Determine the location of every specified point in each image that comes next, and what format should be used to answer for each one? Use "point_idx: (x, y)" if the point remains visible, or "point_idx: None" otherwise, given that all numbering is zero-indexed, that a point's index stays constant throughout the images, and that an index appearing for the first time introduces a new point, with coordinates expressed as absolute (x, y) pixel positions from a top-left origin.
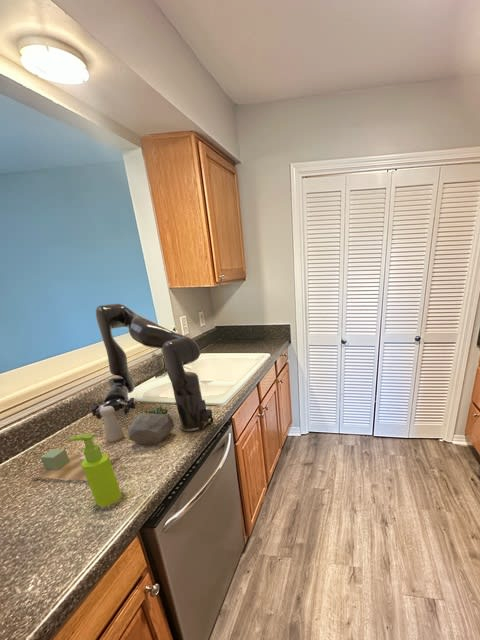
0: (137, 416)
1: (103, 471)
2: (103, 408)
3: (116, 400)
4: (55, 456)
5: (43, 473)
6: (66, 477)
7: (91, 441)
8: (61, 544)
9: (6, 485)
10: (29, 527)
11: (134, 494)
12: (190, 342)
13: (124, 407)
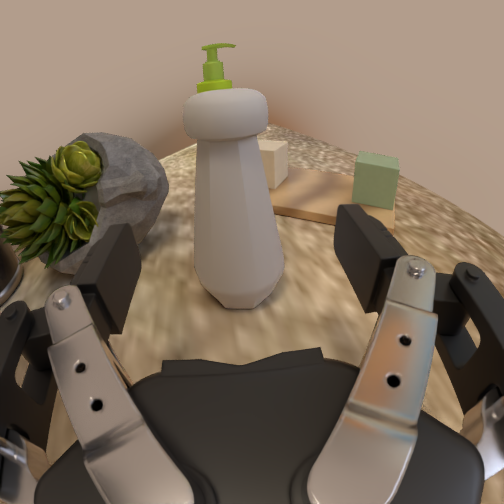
0: (107, 140)
1: None
2: (237, 88)
3: (162, 454)
4: (359, 153)
5: None
6: (317, 171)
7: (207, 54)
8: (260, 136)
9: (435, 193)
10: (311, 145)
11: (187, 157)
12: None
13: (108, 242)
